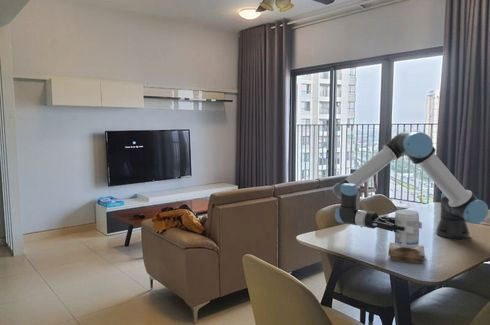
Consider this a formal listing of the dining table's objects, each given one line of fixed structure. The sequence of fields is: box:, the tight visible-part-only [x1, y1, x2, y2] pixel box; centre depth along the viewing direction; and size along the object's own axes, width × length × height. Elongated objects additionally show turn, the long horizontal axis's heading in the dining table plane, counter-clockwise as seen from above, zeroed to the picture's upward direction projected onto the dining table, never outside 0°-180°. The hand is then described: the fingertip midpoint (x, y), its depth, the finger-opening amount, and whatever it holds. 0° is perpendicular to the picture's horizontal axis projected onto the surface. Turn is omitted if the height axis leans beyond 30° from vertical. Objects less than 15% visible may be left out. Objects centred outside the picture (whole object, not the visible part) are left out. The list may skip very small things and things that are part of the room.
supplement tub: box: [394, 209, 420, 248], centre depth 160 cm, size 10×10×15 cm
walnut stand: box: [387, 242, 426, 265], centre depth 161 cm, size 14×14×4 cm
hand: (417, 227), depth 157 cm, fingers closed on supplement tub, 9 cm apart
